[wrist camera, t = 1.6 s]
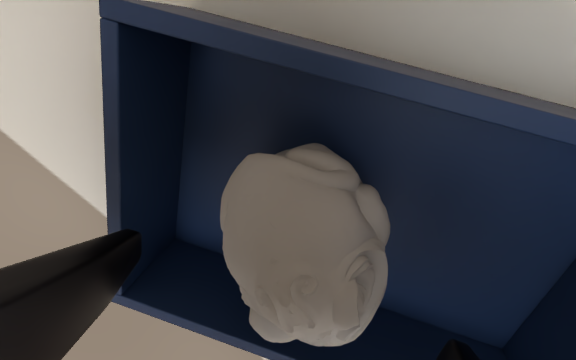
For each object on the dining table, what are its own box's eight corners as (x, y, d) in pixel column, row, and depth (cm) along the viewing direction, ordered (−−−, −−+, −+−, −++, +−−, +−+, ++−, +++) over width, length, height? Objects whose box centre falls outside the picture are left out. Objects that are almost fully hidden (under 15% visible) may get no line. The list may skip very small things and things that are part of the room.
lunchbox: (171, 237, 19) (109, 301, 14) (188, 7, 13) (97, -7, 9) (503, 349, 17) (553, 464, 12) (679, 135, 12) (882, 200, 7)
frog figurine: (294, 265, 17) (254, 398, 11) (224, 150, 15) (127, 232, 9) (409, 229, 15) (441, 371, 8) (343, 90, 13) (323, 141, 7)
